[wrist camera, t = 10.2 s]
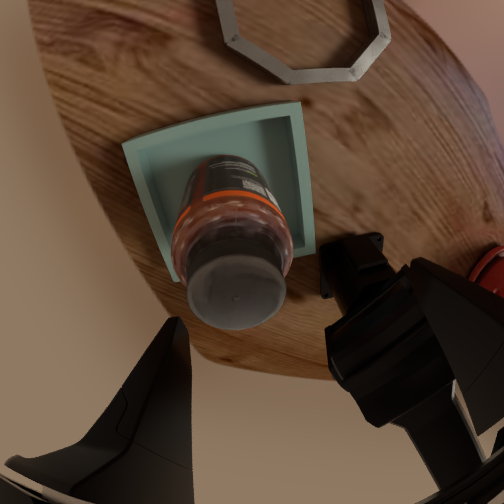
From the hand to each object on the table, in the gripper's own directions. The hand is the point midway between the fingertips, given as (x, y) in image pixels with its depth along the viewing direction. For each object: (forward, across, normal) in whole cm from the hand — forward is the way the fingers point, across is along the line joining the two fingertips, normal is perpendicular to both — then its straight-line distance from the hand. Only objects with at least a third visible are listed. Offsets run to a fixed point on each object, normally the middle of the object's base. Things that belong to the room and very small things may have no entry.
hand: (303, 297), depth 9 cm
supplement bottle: (+12, +2, 0) cm, 13 cm away
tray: (+13, +2, 0) cm, 13 cm away
